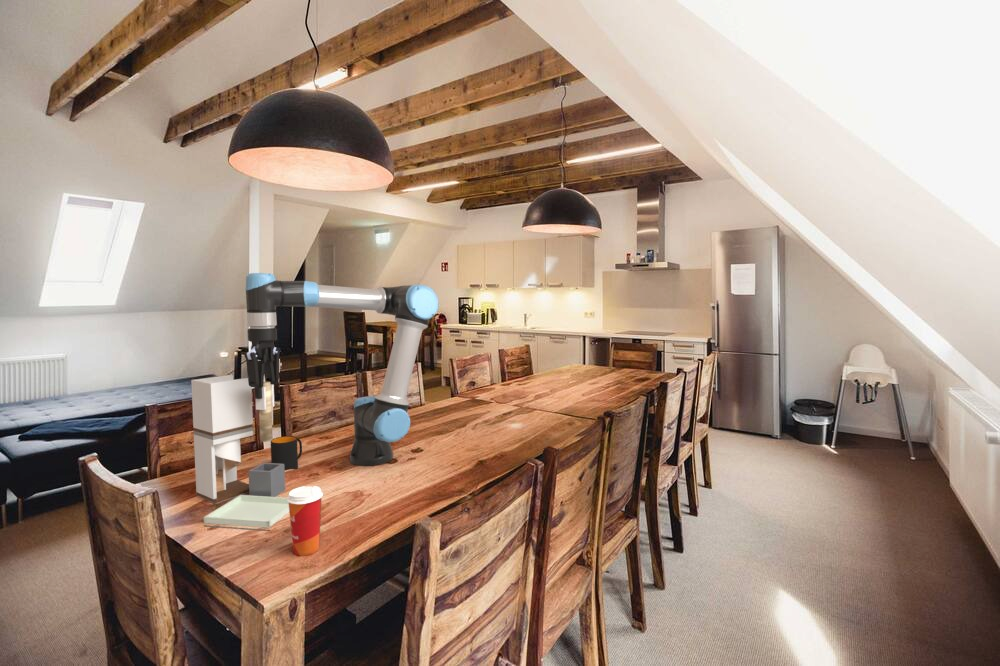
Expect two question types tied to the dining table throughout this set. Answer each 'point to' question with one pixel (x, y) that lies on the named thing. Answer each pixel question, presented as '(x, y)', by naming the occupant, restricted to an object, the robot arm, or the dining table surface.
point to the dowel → (266, 417)
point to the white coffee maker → (220, 434)
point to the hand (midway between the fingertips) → (265, 407)
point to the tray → (249, 512)
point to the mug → (286, 451)
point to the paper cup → (305, 519)
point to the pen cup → (267, 480)
